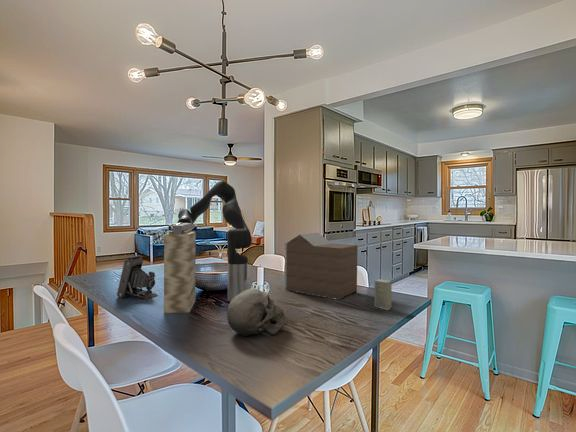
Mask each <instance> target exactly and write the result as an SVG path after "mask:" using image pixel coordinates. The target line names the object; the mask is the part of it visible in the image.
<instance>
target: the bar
mask: <svg viewBox="0 0 576 432" xmlns="http://www.w3.org/2000/svg"><path fill="white" fill-rule="evenodd" d="M192 225H193V224H192V223H182V224H178V225H175V224H173V234H183V232H184V231H187V230H189V229H192Z"/></svg>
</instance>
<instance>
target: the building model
mask: <svg viewBox="0 0 576 432" xmlns="http://www.w3.org/2000/svg"><path fill="white" fill-rule="evenodd" d="M283 244H284V246H285V248H284V249H285V271H284V274H285V275H284V276H285V277H284V278H285V282H284V284H285V285H284V286H285V287H284V290H285V289H286V290H285V291H289V290H292V291H291V292H294V291H298V292H297V293H299V292H303V293H302V294H304V293H309V294H308V295H310V294H314V295H313V296H315V295H320V296H326V297H330V298H336V299H342V298H344V297H346V296H348V295H350V294H352V293H356V292H355V291H357V292H358V248H359V247H358V244H345V243H336V242H335V243H333V242H331V241H329V240H328V239H327V238H326V237H324V236H323V235H321V234H320V233H319V232H313V233H300V234H298V235H297V236H295V237H293V238H292V239H291V240H289V241H288V242H285V243H283ZM320 296H319V297H320ZM330 298H329V299H330ZM336 299H335V300H336Z"/></svg>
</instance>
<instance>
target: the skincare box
mask: <svg viewBox="0 0 576 432" xmlns="http://www.w3.org/2000/svg"><path fill="white" fill-rule="evenodd" d="M373 285H374V307H375V306H377V307H382V308H387V309H388V308H390V307H392V306H393V305H392V300H393V299H392V280H389V279H388V280H386V279H381V278H378V279H376V280H374V284H373Z"/></svg>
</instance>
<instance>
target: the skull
mask: <svg viewBox="0 0 576 432" xmlns="http://www.w3.org/2000/svg"><path fill="white" fill-rule="evenodd" d="M226 314H227V315H226V317H227V319H226V320H227V322H228V325H229V326H230V328H231V329H232V330H233V331H234V332H235V333H237V334H239V335H241V336H243V337H248V336H251V335H259V334H260V330H264V331H265V332H266V333H268V334H269V335H270V336H274V335H277V333H278V332H279V331H280V330H281V329H283V327H284V326H286V325H287V324H288V317H286V315H285V313H284V309H283V308H282V307H280V305H278V304H277V305H275V302H274V298H270V295H269V294H268V293H267V292H266V291H262V290H260V289H259V288H256V287H255V288H254V287H252V288H249V289H248V290H245V291H243V292H242V293H240V294H238V295H237V296H235V297H234V298H233V299H232V300H231V301H229V304H228V307H227V313H226Z"/></svg>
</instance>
